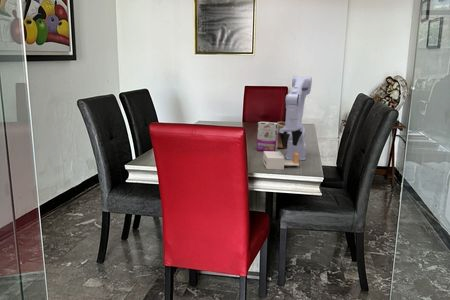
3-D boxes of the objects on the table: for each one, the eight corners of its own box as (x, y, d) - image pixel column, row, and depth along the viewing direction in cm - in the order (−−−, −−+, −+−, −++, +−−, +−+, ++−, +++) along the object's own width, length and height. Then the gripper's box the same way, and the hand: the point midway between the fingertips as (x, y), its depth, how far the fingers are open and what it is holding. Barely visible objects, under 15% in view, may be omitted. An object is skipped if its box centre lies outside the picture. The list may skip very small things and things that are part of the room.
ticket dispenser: (279, 162, 203) (279, 150, 201) (284, 169, 189) (284, 157, 188) (262, 161, 202) (263, 150, 201) (266, 169, 189) (267, 156, 187)
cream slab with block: (295, 161, 200) (296, 151, 199) (299, 165, 192) (300, 155, 191) (267, 160, 199) (268, 150, 198) (270, 165, 191) (270, 154, 190)
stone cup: (288, 150, 231) (290, 124, 228) (268, 148, 235) (269, 122, 231) (291, 145, 245) (293, 121, 242) (272, 143, 249) (274, 119, 245)
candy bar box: (277, 151, 227) (279, 122, 224) (275, 153, 223) (277, 123, 219) (258, 149, 231) (260, 121, 227) (256, 150, 226) (257, 122, 223)
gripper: (294, 116, 200) (292, 143, 203) (275, 118, 191) (273, 146, 194) (306, 118, 195) (303, 145, 198) (286, 120, 186) (284, 149, 189)
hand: (289, 146), depth 196 cm, fingers open, 7 cm apart
